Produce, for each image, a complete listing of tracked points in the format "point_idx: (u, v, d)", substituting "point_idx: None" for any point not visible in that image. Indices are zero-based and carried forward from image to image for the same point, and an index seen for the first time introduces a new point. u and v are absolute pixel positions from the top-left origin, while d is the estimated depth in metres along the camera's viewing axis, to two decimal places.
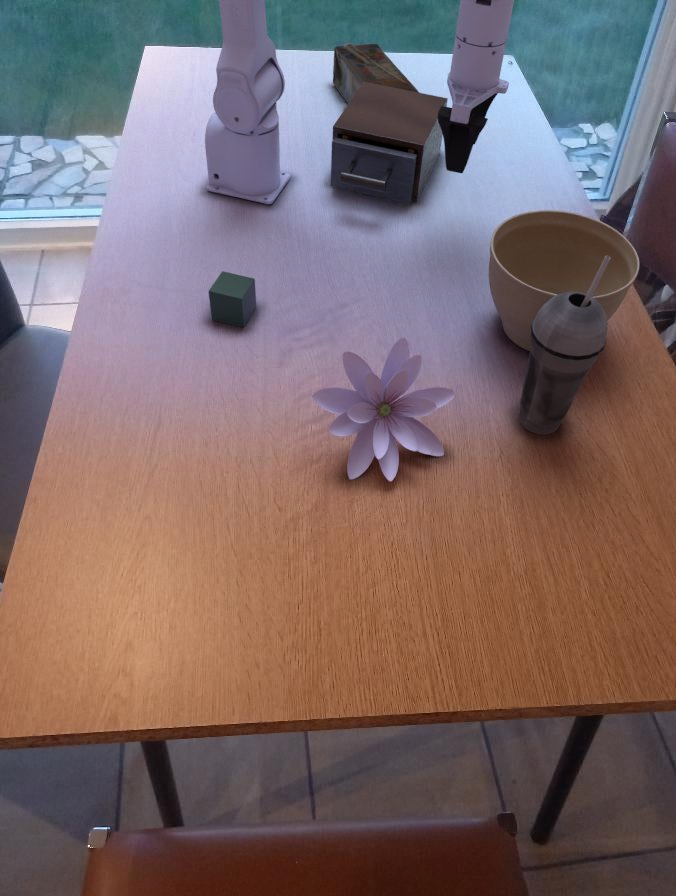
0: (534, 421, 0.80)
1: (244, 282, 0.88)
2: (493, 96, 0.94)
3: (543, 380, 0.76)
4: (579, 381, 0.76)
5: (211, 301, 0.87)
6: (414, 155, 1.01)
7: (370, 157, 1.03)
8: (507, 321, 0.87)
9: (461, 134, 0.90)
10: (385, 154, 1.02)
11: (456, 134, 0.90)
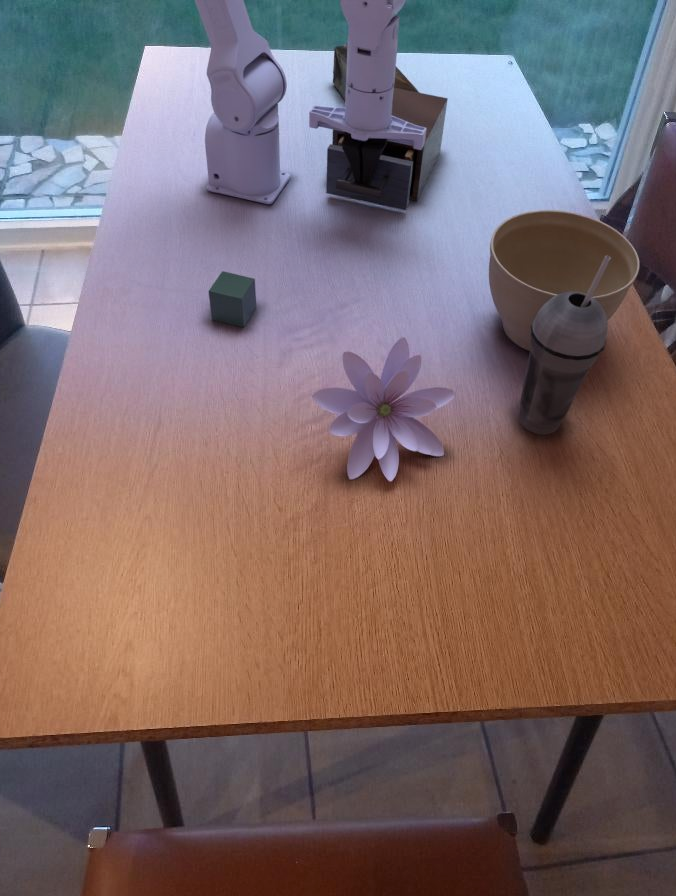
0: (534, 421, 0.80)
1: (244, 282, 0.88)
2: None
3: (543, 380, 0.76)
4: (579, 381, 0.76)
5: (211, 301, 0.87)
6: (410, 162, 1.00)
7: None
8: (507, 321, 0.87)
9: None
10: (381, 161, 1.00)
11: None
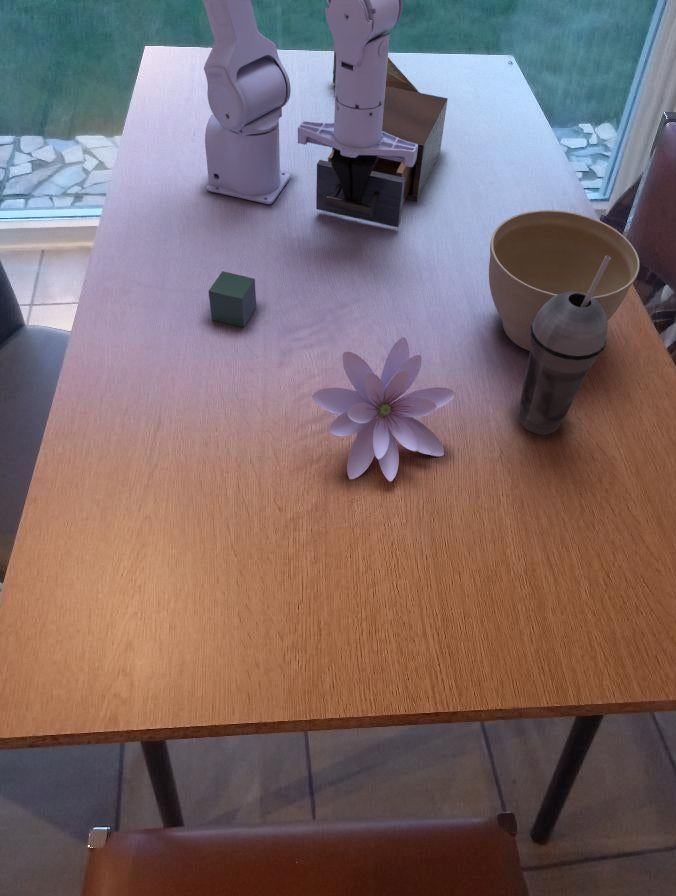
0: (534, 421, 0.80)
1: (244, 282, 0.88)
2: None
3: (543, 380, 0.76)
4: (579, 381, 0.76)
5: (211, 301, 0.87)
6: (402, 178, 0.98)
7: None
8: (507, 321, 0.87)
9: None
10: (372, 177, 0.98)
11: None
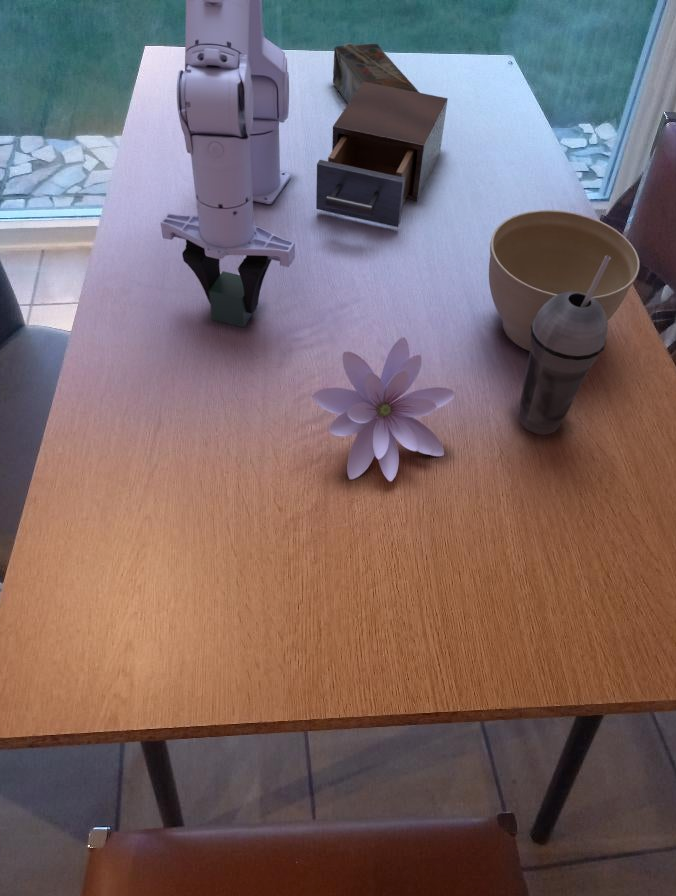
0: (534, 421, 0.80)
1: None
2: None
3: (543, 380, 0.76)
4: (579, 381, 0.76)
5: (211, 301, 0.87)
6: (402, 178, 0.98)
7: (356, 180, 0.99)
8: (507, 321, 0.87)
9: None
10: (372, 177, 0.98)
11: None
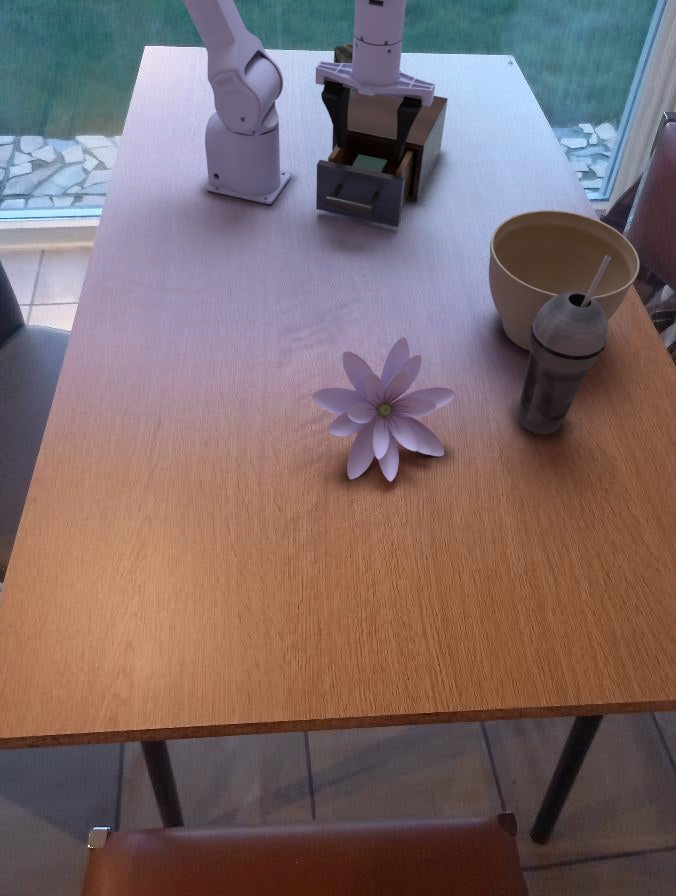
0: (534, 421, 0.80)
1: (378, 162, 1.02)
2: None
3: (543, 380, 0.76)
4: (579, 381, 0.76)
5: None
6: (402, 178, 0.98)
7: (356, 180, 0.99)
8: (507, 321, 0.87)
9: None
10: (372, 177, 0.98)
11: None
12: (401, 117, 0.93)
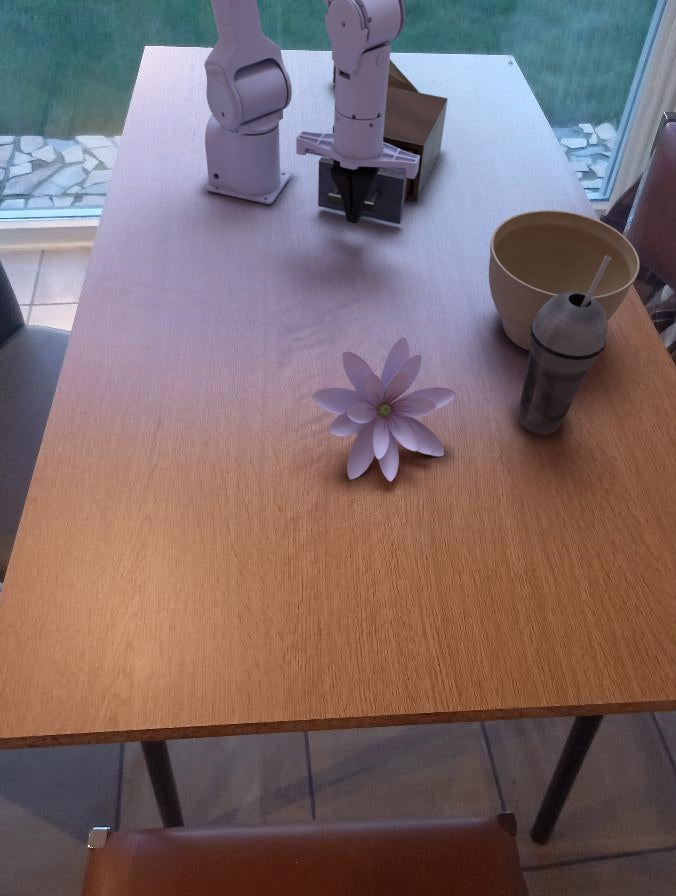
0: (534, 421, 0.80)
1: None
2: None
3: (543, 380, 0.76)
4: (579, 381, 0.76)
5: None
6: (404, 175, 0.98)
7: None
8: (507, 321, 0.87)
9: None
10: None
11: None
12: (356, 183, 0.91)
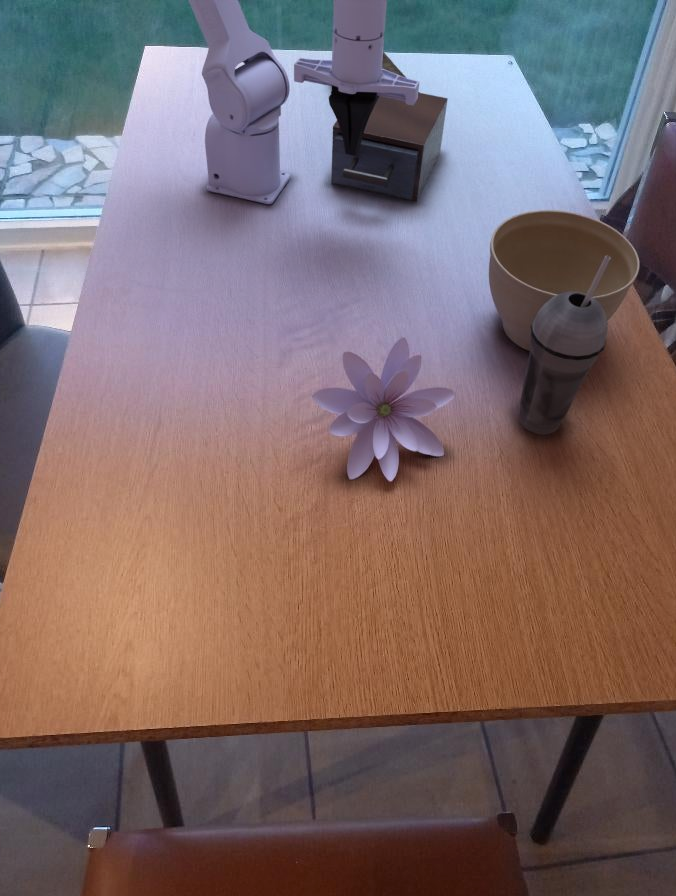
0: (534, 421, 0.80)
1: None
2: (351, 109, 0.90)
3: (543, 380, 0.76)
4: (579, 381, 0.76)
5: None
6: (416, 151, 1.02)
7: (372, 154, 1.03)
8: (507, 321, 0.87)
9: None
10: (387, 150, 1.02)
11: None
12: (355, 110, 0.89)
